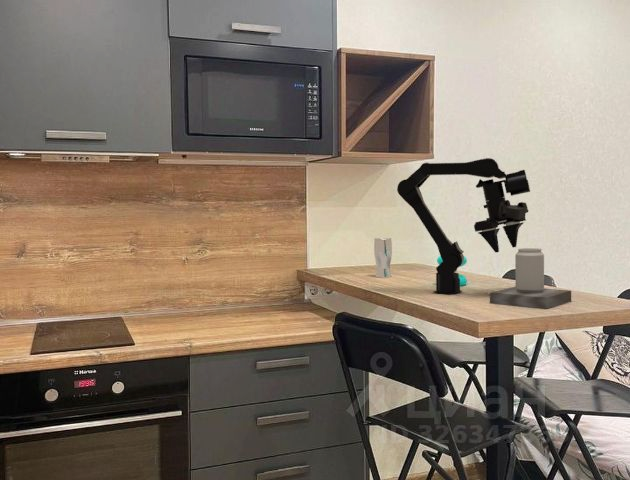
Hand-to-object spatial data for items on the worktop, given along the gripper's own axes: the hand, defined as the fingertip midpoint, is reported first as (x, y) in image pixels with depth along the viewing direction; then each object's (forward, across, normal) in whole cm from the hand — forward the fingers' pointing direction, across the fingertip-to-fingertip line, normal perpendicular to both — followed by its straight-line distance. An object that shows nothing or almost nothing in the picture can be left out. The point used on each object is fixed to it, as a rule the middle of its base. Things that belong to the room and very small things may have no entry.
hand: (505, 249), depth 180 cm
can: (+12, -9, -11) cm, 19 cm away
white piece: (+4, +7, +62) cm, 62 cm away
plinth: (+15, -10, -11) cm, 21 cm away
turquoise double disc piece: (+10, +5, +28) cm, 30 cm away
